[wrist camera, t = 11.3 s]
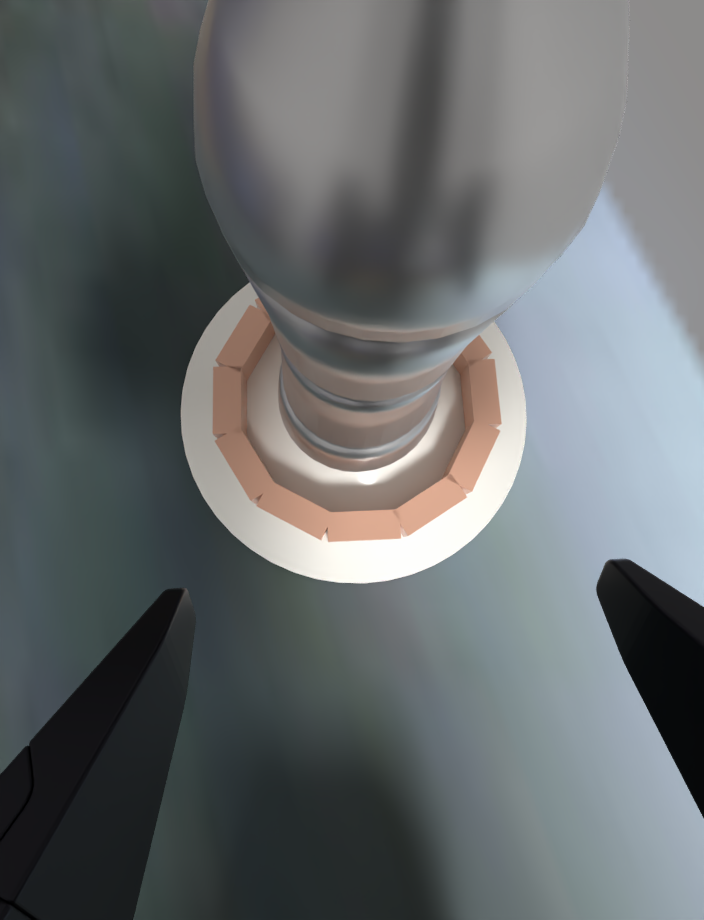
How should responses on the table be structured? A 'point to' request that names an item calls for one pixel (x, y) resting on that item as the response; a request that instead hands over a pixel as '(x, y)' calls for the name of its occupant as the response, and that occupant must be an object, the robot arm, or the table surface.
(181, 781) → the table surface
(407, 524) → the white orange plate
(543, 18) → the plastic bottle
